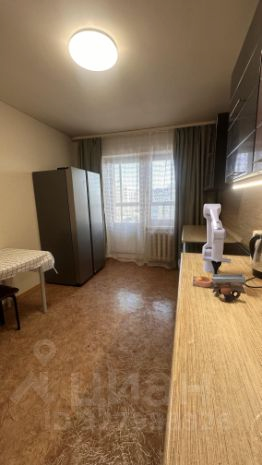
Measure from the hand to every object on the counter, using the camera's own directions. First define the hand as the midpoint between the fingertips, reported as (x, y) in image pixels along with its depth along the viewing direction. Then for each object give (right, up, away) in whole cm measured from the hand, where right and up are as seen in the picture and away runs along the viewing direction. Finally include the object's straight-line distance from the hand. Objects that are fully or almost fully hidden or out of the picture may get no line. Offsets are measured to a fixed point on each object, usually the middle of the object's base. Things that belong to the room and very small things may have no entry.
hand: (215, 273), depth 114 cm
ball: (-10, -3, -3) cm, 11 cm away
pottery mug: (-3, -9, -18) cm, 21 cm away
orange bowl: (-8, -5, -4) cm, 10 cm away
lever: (+5, -3, -5) cm, 7 cm away
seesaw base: (-1, -6, -4) cm, 7 cm away
